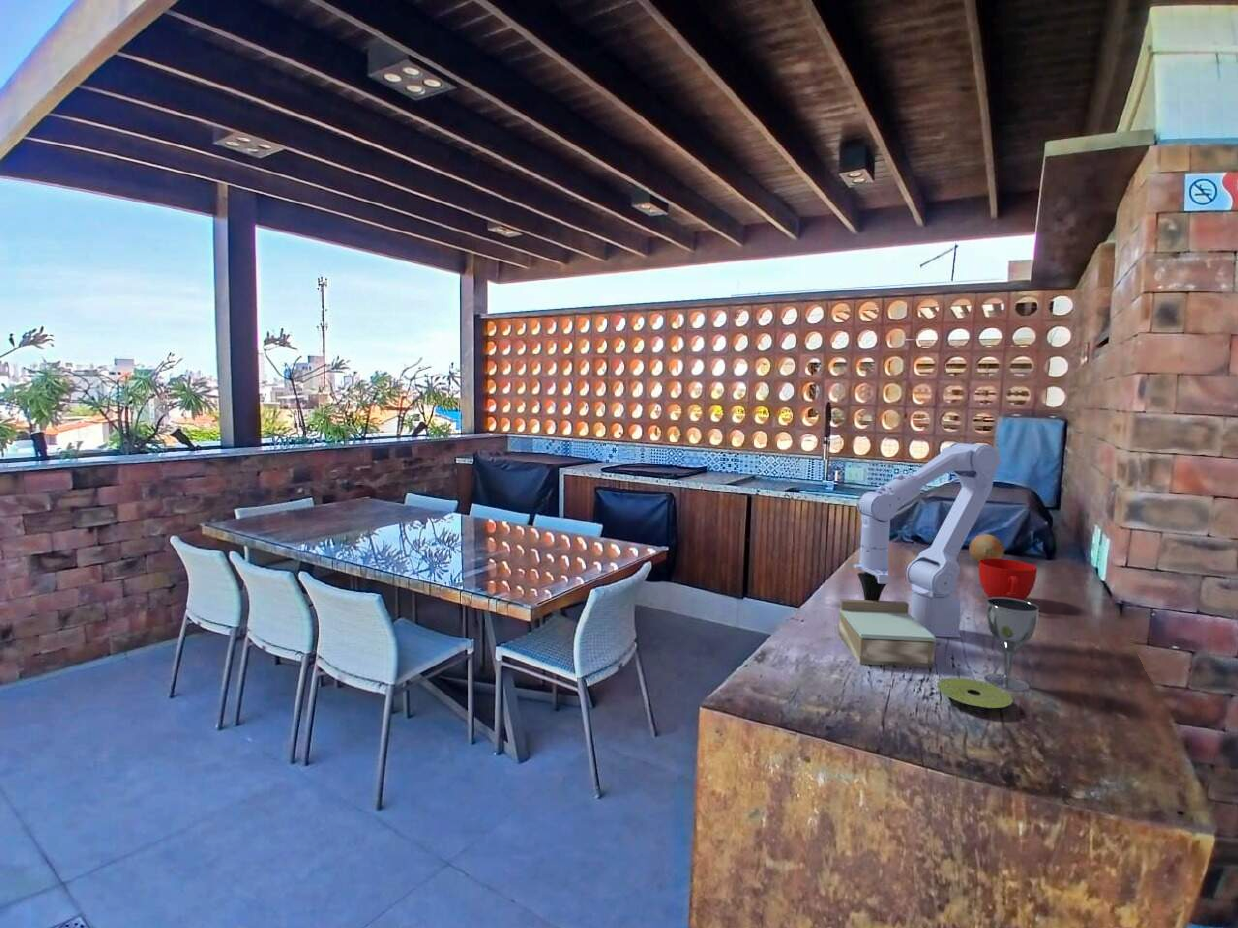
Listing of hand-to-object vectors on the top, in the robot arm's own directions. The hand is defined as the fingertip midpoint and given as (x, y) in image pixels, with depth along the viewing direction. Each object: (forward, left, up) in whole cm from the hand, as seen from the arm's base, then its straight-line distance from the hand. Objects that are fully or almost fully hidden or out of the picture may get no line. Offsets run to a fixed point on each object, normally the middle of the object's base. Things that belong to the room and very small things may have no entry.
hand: (871, 606), depth 137 cm
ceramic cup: (-43, -28, -7) cm, 52 cm away
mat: (-8, +31, -7) cm, 33 cm away
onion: (-58, -71, -7) cm, 92 cm away
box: (0, +9, -6) cm, 11 cm away
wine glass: (-18, +22, -7) cm, 29 cm away
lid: (0, +9, -1) cm, 9 cm away
